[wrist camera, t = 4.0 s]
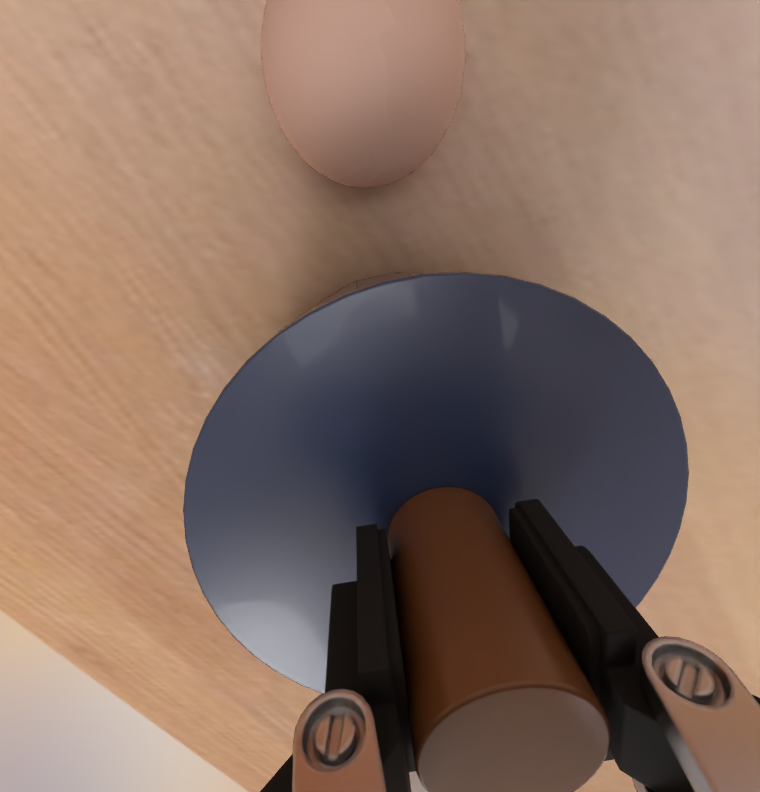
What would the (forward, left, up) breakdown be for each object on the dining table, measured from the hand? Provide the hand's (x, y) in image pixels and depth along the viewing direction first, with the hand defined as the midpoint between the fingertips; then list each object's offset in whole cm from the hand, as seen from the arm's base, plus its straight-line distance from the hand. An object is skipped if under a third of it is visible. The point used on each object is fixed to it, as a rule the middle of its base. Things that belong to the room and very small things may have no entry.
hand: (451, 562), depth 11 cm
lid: (0, 0, -2) cm, 2 cm away
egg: (-5, -13, -13) cm, 19 cm away
